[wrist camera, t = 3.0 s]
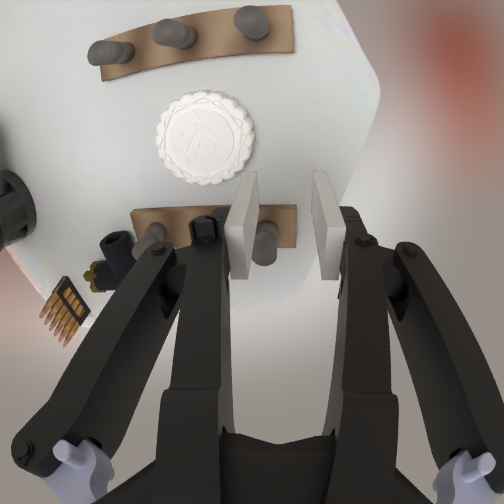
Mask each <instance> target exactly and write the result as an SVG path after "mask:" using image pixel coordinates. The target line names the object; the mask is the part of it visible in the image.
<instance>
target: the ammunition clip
mask: <svg viewBox="0 0 504 504" xmlns="http://www.w3.org/2000/svg"><path fill="white" fill-rule="evenodd" d="M51 307H52V308H51ZM50 308H51V310H50V312H49V314H48V315H47V317H46V319H45V323H44V324H45V325H46V324H47V323H48V322H49V321H50V320H51V319H52V317H53V316H54V315H55V314H56V315H55V317H54V319H53V321H52V323H51V325H50V328H49V331H51V330H52V329H53V328H54V327H55V326H56V324H57V323H58V322H59V320H60V322H59V324H58V326H57V327H56V329H55V332H54V336H56V335H57V334H58V333H59V332H60V331H61V329H62V328H63V327H64V328H63V330H62V332H61V334H60V336H59V342H60V341H61V340H62V339H63V338H64V337H65V336H66V334H67V333H68V334H67V336H66V338H65V341H64V343H63V347H65V346H66V345H67V344H68V343H69V341H70V340H71V338H72V337H73V336H74V334H75V333H76V331H77V330H78V328H79V326H81V325H82V323H83V322H84V320H85V319H86V317H87V316H88V314H89V313H90V309H89V308H88V306H87V305H86V303H85V302H84V300H83V299H82V297H81V296H80V294H79V293H78V291H77V290H76V288H75V287H74V285H73V284H72V282H71V280H70V279H69V277H68V276H64V277H62V279H61V280H60V281H59V283H58V284H57V286H56V287H55V289H54V290H53V292H52V295H51V296H50V297H49V299H48V300H47V302H46V305H45V306H44V308H43V309H42V311H41V313H40V317H39V318H42V317H43V316H44V315H45V314H46V313H47V312H48V310H49V309H50ZM68 331H69V332H68Z"/></svg>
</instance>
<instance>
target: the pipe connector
mask: <svg viewBox="0 0 504 504" xmlns="http://www.w3.org/2000/svg"><path fill="white" fill-rule="evenodd" d="M100 248H101V250H102V252H103V254H104V256H105V258H106V260H107V262H108V263H106V262H105V261H101V262H93V263H92V264H91V265H90V268H91V269H90V271H86V272H85V274H84V275H83V277H84V278H85V280H86V281H90V283H91V285H90V289H91V290H92V292H106V290H116V289H117V288H118V286H119V285H120V284H121V282H122V281H123V279H124V278H125V276H126V275H127V274H128V272H129V271H130V270H131V268H132V267H133V265H134V264H135V263H136V261H137V260H136V259H135V258H134V257H133V255H132V249H133V247H132V244H131V242H130V239H129V237H128V235H127V232H126V231H119V232H113V233H111V234H109V235H107V236H106V237H105V238H103V239H102V241H101V242H100Z"/></svg>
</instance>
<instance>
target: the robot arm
mask: <svg viewBox="0 0 504 504" xmlns="http://www.w3.org/2000/svg"><path fill="white" fill-rule="evenodd" d="M311 212H312V218H313V224H314V230H315V236H316V243H317V249H318V256H319V262H320V269H321V277H322V280H338V279H339V274H340V273H341V283H340V288H339V293H338V299H339V309H338V322H337V335H336V345H335V355H334V363H333V372H332V380H331V388H330V395H329V401H328V408H327V414H326V420H325V425H324V429H323V432H322V436H314V437H310V438H306V439H302V440H298V441H294V442H289V443H285V444H272V443H269V442H265V441H262V440H258V439H255V438H252V437H249V436H246V435H242V434H236V433H235V428H234V420H233V397H232V371H231V338H230V292H229V279H228V276H229V272H230V275H231V279H248V274H249V268H250V262H251V256H252V250H253V244H254V238H255V232H256V226H257V220H258V215H259V201H258V184H257V171H244V173H243V176H242V178H241V181H240V184H239V187H238V189H237V192H236V195H235V197H234V200H233V203H232V206H231V207H217V208H216V209H215V210H214V211H212V213H211V215H203V216H199V217H196V218H194V219H192V220H191V221H190V222H189V224H188V226H189V231H190V236H191V240H192V242H191V245H190V246H187V247H183V248H178V249H174V246H173V244H172V243H171V242H168V241H158V242H155V243H153V244H151V245H150V246H148V247H147V248H146V249H145V251H144V252H143V253H142V255H141V256H140V257H139V259H138V260H137V261H136V263H135V264H134V265H133V267H132V268H131V270H130V271H129V272H128V274H127V275H126V276H125V278H124V279H123V281H122V282H121V284H120V285H119V286H118V288H117V289H116V291H115V292H114V294H113V295H112V297H111V298H110V299H109V301H108V302H107V304H106V305H105V307H104V308H103V310H102V311H101V313H100V314H99V316H98V317H97V319H96V321H95V322H94V324H93V325H92V327H91V328H90V330H89V332H88V333H87V335H86V336H85V338H84V340H83V341H82V343H81V344H80V346H79V348H78V349H77V351H76V353H75V354H74V356H73V358H72V359H71V361H70V363H69V365H68V366H67V368H66V370H65V372H64V373H63V375H62V377H61V379H60V381H59V382H58V384H57V386H56V388H55V390H54V392H53V394H52V395H51V397H50V399H49V400H48V402H47V403H46V404H45V405H44V406H43V407H42V408H41V409H40V410H39V411H38V412H37V413H36V414H35V415H34V416H33V417H32V418H31V419H30V420H29V421H28V422H27V424H26V425H25V426H24V427H23V428H22V429H21V430H20V431H19V432H18V433H17V434H16V436H15V437H14V439H13V441H12V445H11V453H12V457H13V459H14V462H15V463H16V464H17V465H18V467H20V468H22V469H24V470H26V471H28V472H30V473H32V474H34V475H36V476H39V477H40V478H41V479H42V480H43V481H44V482H45V483H46V485H47V486H48V487H49V489H50V490H51V491H52V493H53V494H54V495H55V496H56V497H57V499H58V500H59V501H60V502H61V503H62V504H433V503H432V502H431V501H430V500H429V499H428V498H427V497H425V495H424V494H422V493H421V492H420V491H419V490H418V489H417V488H416V487H415V486H414V485H413V484H412V483H411V482H410V481H409V480H408V479H407V478H406V477H405V476H404V475H403V474H402V473H401V472H400V471H399V470H398V469H397V468H396V456H397V442H398V418H399V405H398V398H397V396H396V395H395V394H392V391H391V358H390V338H389V325H388V313H389V315H390V318H391V320H392V323H393V326H394V328H395V331H396V334H397V336H398V339H399V342H400V345H401V347H402V350H403V353H404V356H405V359H406V362H407V365H408V368H409V371H410V374H411V377H412V381H413V384H414V387H415V391H416V394H417V398H418V401H419V405H420V408H421V412H422V416H423V420H424V423H425V428H426V432H427V436H428V441H429V444H430V447H431V452H432V455H433V457H434V460H435V462H436V465H437V467H438V469H439V472H438V474H437V477H436V479H435V480H434V482H433V489H434V491H436V492H437V495H438V498H437V503H436V504H493V503H494V501H495V500H496V499H497V498H498V497H499V496H500V495H502V494H503V493H504V403H503V401H502V398H501V395H500V392H499V390H498V387H497V385H496V382H495V380H494V377H493V375H492V372H491V370H490V368H489V366H488V363H487V361H486V359H485V357H484V354H483V352H482V350H481V348H480V346H479V344H478V342H477V340H476V338H475V336H474V334H473V332H472V330H471V328H470V326H469V325H468V322H467V321H466V319H465V317H464V315H463V313H462V312H461V310H460V308H459V306H458V305H457V303H456V301H455V299H454V298H453V296H452V294H451V293H450V291H449V289H448V288H447V286H446V284H445V283H444V281H443V280H442V278H441V276H440V275H439V273H438V272H437V270H436V269H435V267H434V266H433V264H432V263H431V261H430V260H429V258H428V257H427V255H426V254H425V252H424V251H423V250H422V249H421V248H420V247H419V246H417V245H416V244H414V243H411V242H400V243H398V244H397V245H396V248H395V250H393V249H389V248H385V247H381V246H379V245H378V241H377V239H376V238H375V237H374V236H372V235H370V234H368V233H367V230H366V228H365V226H364V224H363V222H362V219H361V218H360V215H359V213H358V211H357V210H355V209H354V208H353V207H347V206H344V207H343V206H338V203H337V200H336V198H335V195H334V192H333V190H332V187H331V185H330V182H329V179H328V177H327V174H326V172H325V171H313V179H312V207H311ZM35 223H36V213H35V207H34V204H33V200H32V198H31V195H30V193H29V191H28V189H27V187H26V186H25V184H24V183H23V182H22V180H21V179H20V178H19V177H18V176H17V175H16V174H14V173H13V172H10V171H2V172H0V251H1V250H2V249H3V248H4V247H6V246H9V245H11V244H13V243H15V242H18V241H20V240H22V239H24V238H26V237H27V236H28V235H29V234H30V233H31V232H32V231H33V229H34V227H35ZM179 309H180V312H179V319H178V326H177V333H176V341H175V349H174V357H173V365H172V375H171V383H170V387H169V389H166V390H164V392H163V394H162V397H161V403H160V413H159V423H158V434H157V447H156V459H155V460H154V461H153V462H151V463H150V464H149V465H147V466H146V467H145V468H143V469H142V470H141V471H139V472H138V473H136V474H135V475H134V476H132V477H131V478H129V479H128V480H127V481H126V482H124V483H122V484H121V485H119V486H118V487H117V488H115V489H113V490H112V491H110V492H109V493H107V484H108V482H109V481H110V480H112V479H113V478H114V474H115V473H114V469H113V468H112V463H111V461H110V460H111V458H112V457H113V456H114V454H115V453H116V451H117V449H118V448H119V446H120V445H121V442H122V440H123V438H124V436H125V434H126V431H127V429H128V426H129V424H130V421H131V419H132V416H133V414H134V411H135V409H136V407H137V404H138V402H139V399H140V397H141V394H142V392H143V390H144V387H145V385H146V383H147V380H148V378H149V376H150V374H151V371H152V369H153V367H154V364H155V362H156V360H157V358H158V355H159V353H160V351H161V349H162V346H163V344H164V342H165V340H166V337H167V335H168V333H169V331H170V329H171V326H172V324H173V322H174V320H175V318H176V316H177V314H178V311H179ZM387 310H388V313H387Z"/></svg>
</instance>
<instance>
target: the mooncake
mask: <svg viewBox="0 0 504 504" xmlns="http://www.w3.org/2000/svg"><path fill="white" fill-rule="evenodd" d="M247 115H248V112H247V109H246V108H245V107H244V106H242V105H239V103H238V100H237V99H236V98H234V97H232V96H228V97H227V96H226V94H225V93H224V92H222V91H215V92H212V91H211V90H208V89H205V90H200V91H197V92H190V93H186V94H184V95H182V96H181V98H180V99H177V100H174V101H172V102H171V103H170V104H169V107H168V109H166V110H164V111H163V112H162V113H161V116H160V119H161V121H160V122H159V123H158V124H157V125H156V132H157V134H158V135H157V136H156V137H155V144H156V145H157V147H159V148H158V156H159V157H160V158H161V159H162V160H164V166H165V167H166V168H167V169H168V170H171V171H173V174H174V176H175V177H177V178H179V179H182V178H184V180H185V181H186V182H187V183H189V184H195V183H197V184H199V185H200V186H207V185H209V184H210V183H211V184H214V185H218V184H220V183H221V182H222V181H223V179H224V180H229V179H232V178H233V177H234V175H235V173H236V172H238V171H241V170H242V169H243V167H244V165H245V162H246V160H247V159H248V158H249V157H250V155H251V152H252V149H253V147H252V144H253V141H254V139H255V134H254V132H253V131H252V130H251V129H252V128H253V121H252V119H251V118H250V117H248V116H247Z"/></svg>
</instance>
